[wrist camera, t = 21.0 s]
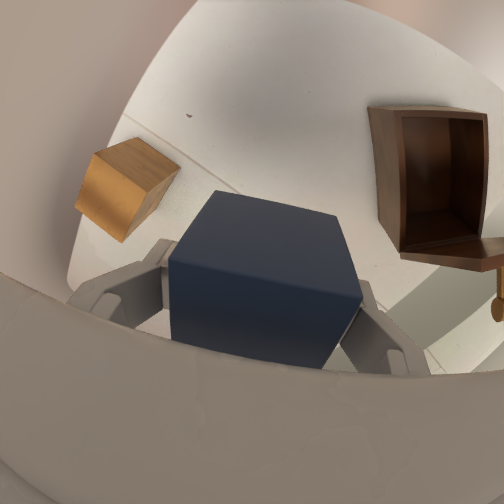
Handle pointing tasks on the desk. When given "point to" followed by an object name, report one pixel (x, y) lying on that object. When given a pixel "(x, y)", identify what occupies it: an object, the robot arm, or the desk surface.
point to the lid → (469, 262)
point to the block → (262, 281)
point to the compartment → (430, 173)
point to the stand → (124, 186)
